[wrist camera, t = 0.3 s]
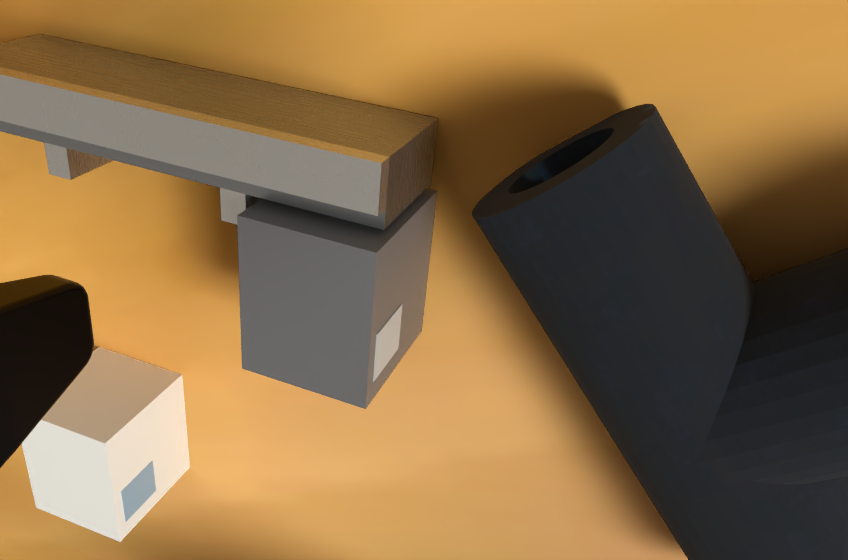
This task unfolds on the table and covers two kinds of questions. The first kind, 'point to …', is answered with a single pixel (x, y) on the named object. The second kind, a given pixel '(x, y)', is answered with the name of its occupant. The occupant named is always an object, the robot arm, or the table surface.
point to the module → (110, 444)
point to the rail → (214, 130)
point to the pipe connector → (686, 341)
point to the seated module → (331, 295)
